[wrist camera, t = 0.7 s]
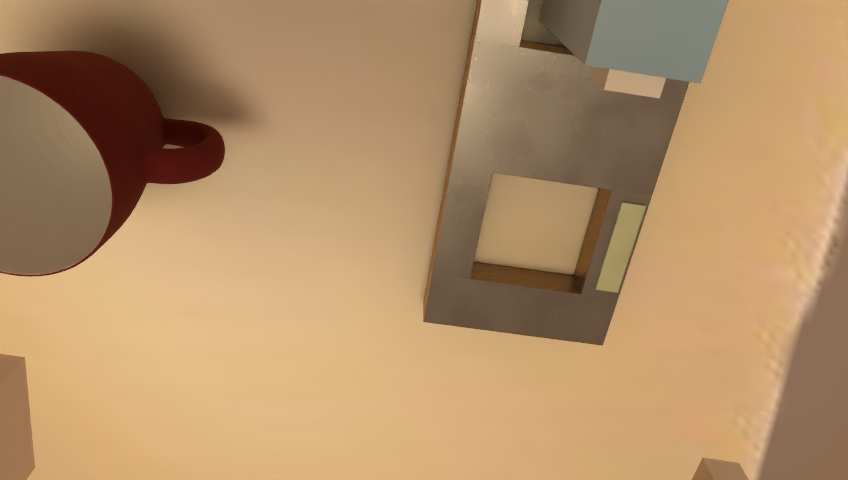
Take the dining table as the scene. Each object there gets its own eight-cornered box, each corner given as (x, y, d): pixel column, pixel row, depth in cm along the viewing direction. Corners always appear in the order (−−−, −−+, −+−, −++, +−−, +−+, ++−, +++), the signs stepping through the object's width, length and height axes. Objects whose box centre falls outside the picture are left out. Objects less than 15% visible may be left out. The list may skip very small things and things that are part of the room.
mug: (236, 20, 31) (160, 64, 22) (258, 181, 35) (199, 275, 26) (12, 24, 31) (-154, 69, 22) (56, 184, 35) (-72, 279, 26)
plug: (559, -73, 30) (618, -66, 21) (647, -58, 30) (743, -44, 21) (535, 38, 32) (578, 88, 23) (617, 51, 32) (692, 106, 23)
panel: (512, -191, 28) (518, -199, 26) (744, -148, 28) (768, -153, 26) (423, 302, 38) (423, 323, 36) (594, 325, 39) (603, 347, 37)
